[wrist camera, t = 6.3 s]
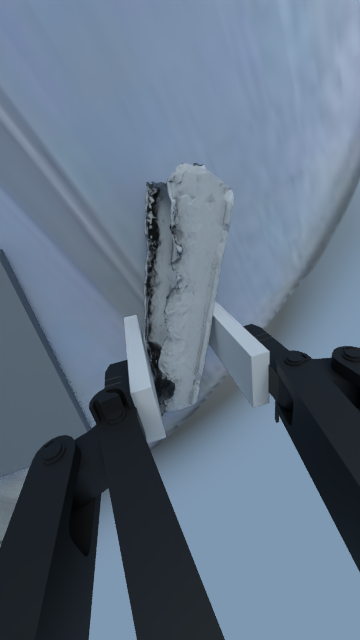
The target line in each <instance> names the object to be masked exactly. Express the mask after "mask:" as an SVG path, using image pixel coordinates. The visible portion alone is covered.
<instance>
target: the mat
mask: <svg viewBox="0 0 360 640" xmlns="http://www.w3.org/2000/svg"><path fill="white" fill-rule="evenodd" d="M89 430H91V428H90V426H89V424H88V422H87V420H86V418H85V416H84V414H83V412H82V410H81V408H80V406H79V404H78V402H77V400H76V398H75V396H74V394H73V392H72V390H71V388H70V386H69V384H68V382H67V380H66V378H65V376H64V374H63V372H62V370H61V368H60V366H59V364H58V362H57V360H56V358H55V356H54V354H53V351H52V349H51V347H50V345H49V343H48V341H47V339H46V337H45V335H44V333H43V331H42V329H41V327H40V325H39V323H38V321H37V319H36V317H35V315H34V313H33V311H32V309H31V307H30V305H29V303H28V301H27V299H26V297H25V295H24V293H23V291H22V289H21V287H20V285H19V283H18V281H17V279H16V277H15V275H14V273H13V271H12V269H11V267H10V265H9V263H8V261H7V259H6V257H5V255H4V253H3V251H2V249H0V476H3V475H6V474H9V473H12V472H15V471H18V470H21V469H24V468H28V467H30V465H31V463H32V460H33V458H34V456H35V454H36V453H37V451H38V450H39V449H40V448H41V447H42V446H43V445H44V444H45V443H47V442H48V441H50V440H51V439H53V438H55V437H58V436H62V435H68V436H71V437H72V438H73V439H74V440H75V439H76V438H78V437H80V436H81V435H83V434H85V433H87V432H88V431H89Z"/></svg>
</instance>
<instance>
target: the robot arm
mask: <svg viewBox="0 0 360 640" xmlns="http://www.w3.org/2000/svg"><path fill="white" fill-rule="evenodd" d="M124 325H125V337H126V348H127V360H125V361H121V362H118V363H114V364H111V365H110V366H109V367H108V369H107V370H106V372H105V389H103V390H101V391H99V392H98V393H97V394H96V395H95V396H94V397H93V398H92V400H91V401H90V404H89V409H90V411H91V413H92V416H93V418H94V420H95V422H96V425H95V426H94V427H93V428H92V429H91V430H89V431H88V432H87V433H85V434H83V435H81V436H80V437H78V438H76V439H75V440H74V439H73V438H72V437H71V436H68V435H62V436H58V437H55V438H53V439H51V440H50V441H48V442H47V443H45V444H44V445H43V446H42V447H41V448H40V449H39V450H38V451H37V453H36V454H35V456H34V458H33V460H32V463H31V465H30V468H29V471H28V474H27V476H26V479H25V482H24V484H23V487H22V490H21V493H20V495H19V498H18V501H17V503H16V506H15V509H14V512H13V514H12V517H11V520H10V522H9V525H8V528H7V531H6V533H5V536H4V539H3V542H2V544H1V547H0V640H88V639H89V628H90V617H91V605H92V594H93V582H94V570H95V559H96V547H97V536H98V524H99V513H100V501H101V493H102V492H104V491H105V490H106V489H108V488H109V491H110V497H111V502H112V508H113V513H114V518H115V524H116V529H117V534H118V540H119V545H120V551H121V556H122V561H123V567H124V572H125V578H126V583H127V588H128V594H129V599H130V604H131V610H132V614H133V620H134V626H135V631H136V636H137V640H225V639H224V636H223V634H222V631H221V629H220V627H219V624H218V621H217V619H216V616H215V613H214V611H213V609H212V606H211V603H210V601H209V598H208V596H207V593H206V591H205V588H204V586H203V583H202V581H201V578H200V575H199V573H198V571H197V568H196V565H195V563H194V560H193V558H192V555H191V553H190V550H189V548H188V545H187V543H186V540H185V537H184V535H183V532H182V530H181V528H180V525H179V522H178V520H177V517H176V515H175V512H174V510H173V507H172V504H171V502H170V500H169V497H168V494H167V492H166V489H165V487H164V484H163V482H162V479H161V477H160V474H159V472H158V469H157V466H156V464H155V461H154V459H153V456H152V454H151V451H150V449H149V446H148V444H147V442H148V443H151V442H154V441H157V440H160V439H163V438H166V434H165V430H164V425H163V421H162V416H161V412H160V408H159V403H158V399H157V394H156V390H155V385H154V381H153V376H152V372H151V368H150V363H149V359H148V354H147V350H146V347H145V343H144V340H143V336H142V332H141V329H140V325H139V322H138V318H137V315H133V316H129V317H125V318H124ZM208 343H209V345H210V346H211V348H212V349H213V351H214V352H215V353H216V355H217V356H218V358H219V359H220V361H221V362H222V364H223V365H224V366H225V368H226V369H227V371H228V372H229V374H230V375H231V377H232V378H233V379H234V380H235V382H236V384H237V385H238V387H239V388H240V389H241V391H242V392H243V394H244V395H245V397H246V398H247V400H248V401H249V403H250V404H251V405H252V407H253V408H255V407H258V406H261V405H264V404H267V403H269V393H270V394H271V395H272V396H273V397H274V399H275V420H276V422H279V416H280V418H281V420H282V422H283V424H284V426H285V428H286V430H287V431H288V433H289V435H290V437H291V439H292V441H293V443H294V445H295V447H296V449H297V451H298V453H299V455H300V457H301V459H302V461H303V463H304V465H305V466H306V468H307V470H308V472H309V474H310V476H311V478H312V480H313V482H314V484H315V486H316V488H317V490H318V492H319V493H320V496H321V498H322V499H323V501H324V503H325V505H326V507H327V509H328V511H329V513H330V515H331V517H332V519H333V521H334V523H335V525H336V527H337V529H338V531H339V533H340V534H341V536H342V538H343V540H344V542H345V544H346V546H347V548H348V550H349V552H350V554H351V556H352V558H353V560H354V562H355V564H356V565H357V567H358V570H359V571H360V348H357V347H352V346H343V347H338V348H336V349H334V351H333V353H332V358H322V359H312V358H311V357H310V356H308V355H307V354H305V353H302V352H299V351H289V350H288V349H286V348H285V347H284V346H283V345H281V344H280V343H279V342H278V341H277V340H275V339H274V338H273V337H271V336H270V335H269V334H268V333H266V331H264V330H263V329H262V328H261V327H258V326H256V325H253V324H250V325H246V326H242V325H241V324H240V323H238V322H237V321H236V320H235V319H234V318H233V317H232V316H231V315H230V314H229V313H228V312H227V311H226V310H224V309H223V308H222V307H221V306H220V305H219V304H218V303H217V302H216V301H215V305H214V310H213V317H212V325H211V331H210V337H209V342H208ZM146 439H147V441H146Z"/></svg>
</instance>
